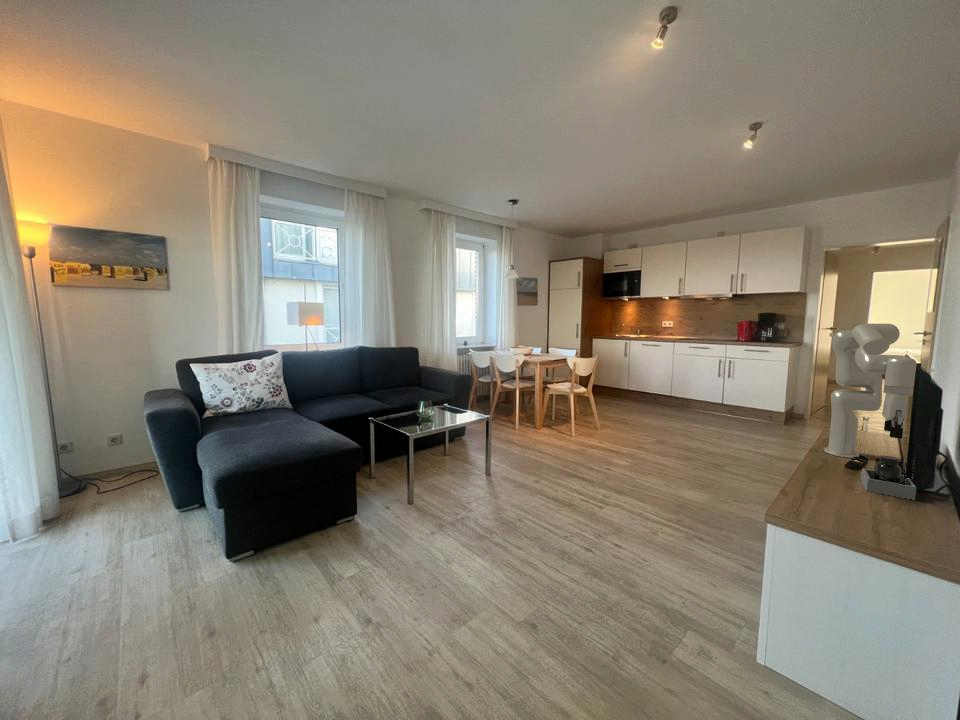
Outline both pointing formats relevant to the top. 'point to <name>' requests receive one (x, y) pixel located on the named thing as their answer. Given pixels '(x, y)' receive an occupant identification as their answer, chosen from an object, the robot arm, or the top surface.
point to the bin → (888, 486)
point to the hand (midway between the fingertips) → (892, 434)
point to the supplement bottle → (888, 470)
